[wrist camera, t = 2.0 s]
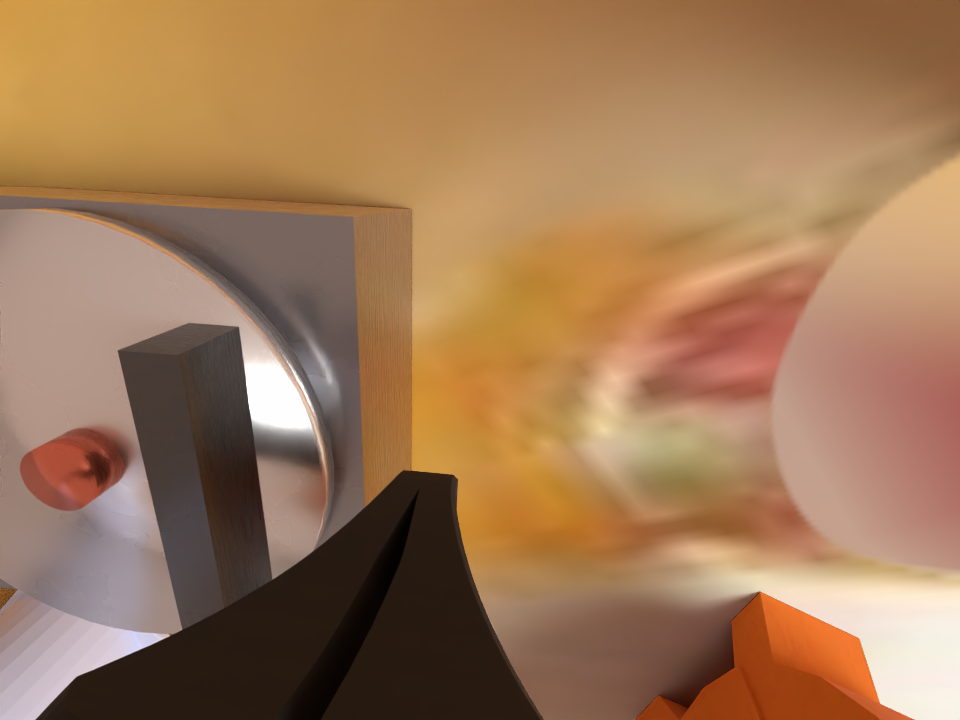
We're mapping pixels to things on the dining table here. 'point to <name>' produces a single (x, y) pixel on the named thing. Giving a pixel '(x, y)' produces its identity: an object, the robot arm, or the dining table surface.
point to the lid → (146, 428)
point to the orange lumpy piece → (785, 673)
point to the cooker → (303, 306)
